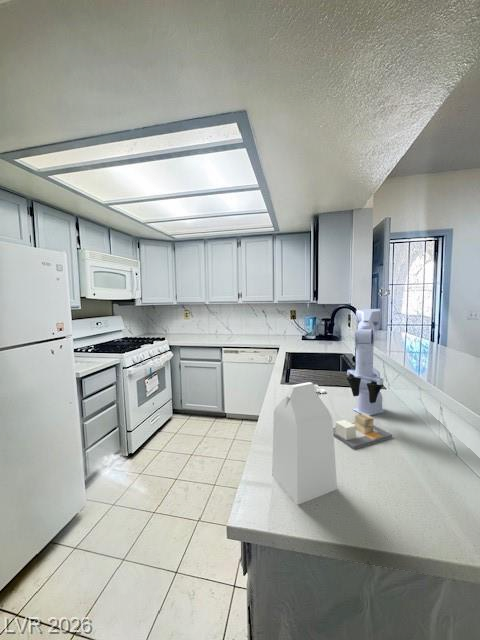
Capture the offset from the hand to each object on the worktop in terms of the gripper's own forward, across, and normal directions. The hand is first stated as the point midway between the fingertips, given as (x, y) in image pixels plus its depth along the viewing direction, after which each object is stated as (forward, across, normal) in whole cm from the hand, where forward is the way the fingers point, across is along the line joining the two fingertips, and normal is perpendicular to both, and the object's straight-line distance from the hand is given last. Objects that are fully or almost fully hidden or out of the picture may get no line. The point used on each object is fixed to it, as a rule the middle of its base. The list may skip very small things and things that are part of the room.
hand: (364, 399), depth 97 cm
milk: (+12, +16, -37) cm, 42 cm away
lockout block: (+10, +4, -4) cm, 11 cm away
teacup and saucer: (+10, -34, +7) cm, 37 cm away
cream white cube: (+10, +4, -12) cm, 16 cm away
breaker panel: (+11, +4, -6) cm, 13 cm away
